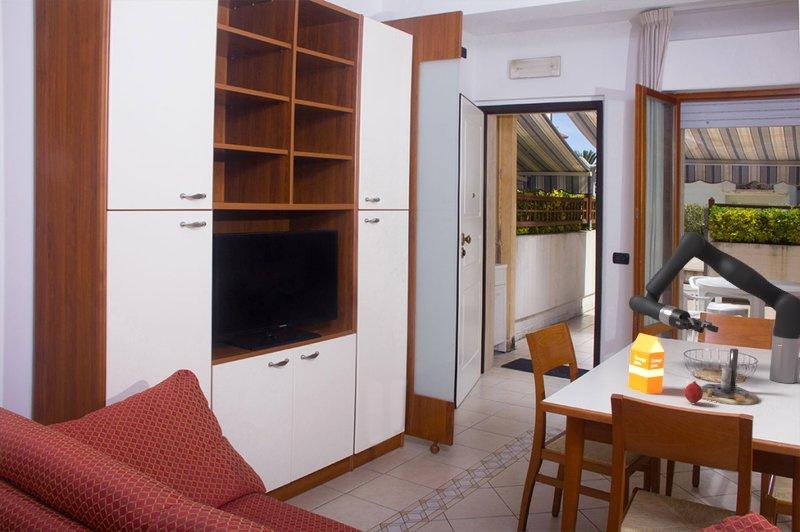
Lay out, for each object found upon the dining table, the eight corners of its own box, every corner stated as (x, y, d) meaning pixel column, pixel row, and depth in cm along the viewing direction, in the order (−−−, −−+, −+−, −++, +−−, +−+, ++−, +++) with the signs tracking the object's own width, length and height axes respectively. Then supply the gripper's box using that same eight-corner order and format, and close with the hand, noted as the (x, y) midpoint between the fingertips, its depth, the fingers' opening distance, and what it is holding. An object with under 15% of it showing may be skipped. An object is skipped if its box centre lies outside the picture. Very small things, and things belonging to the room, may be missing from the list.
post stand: (736, 387, 263) (738, 361, 262) (771, 404, 242) (773, 376, 241) (681, 387, 261) (683, 360, 260) (712, 405, 240) (714, 375, 239)
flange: (733, 386, 260) (736, 348, 258) (763, 400, 242) (766, 359, 241) (694, 386, 258) (697, 347, 257) (721, 400, 241) (724, 359, 239)
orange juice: (646, 394, 251) (650, 338, 249) (627, 387, 259) (631, 333, 257) (662, 391, 255) (666, 336, 253) (643, 385, 263) (647, 331, 261)
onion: (680, 401, 244) (681, 378, 243) (696, 401, 244) (698, 378, 243) (688, 406, 238) (690, 382, 237) (705, 406, 238) (706, 382, 237)
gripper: (664, 308, 274) (700, 320, 261) (688, 308, 282) (724, 320, 268) (660, 326, 276) (696, 340, 262) (684, 326, 283) (719, 339, 270)
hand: (710, 330), depth 265 cm, fingers open, 8 cm apart
